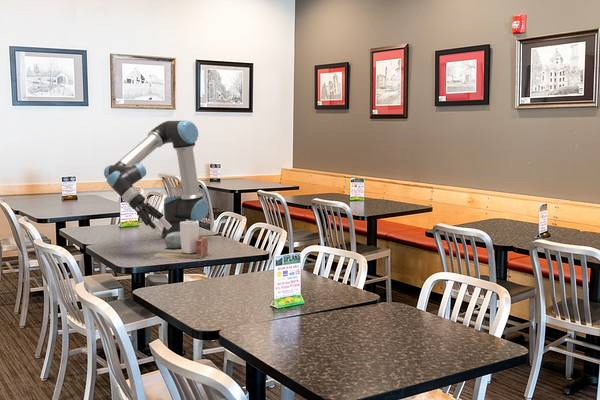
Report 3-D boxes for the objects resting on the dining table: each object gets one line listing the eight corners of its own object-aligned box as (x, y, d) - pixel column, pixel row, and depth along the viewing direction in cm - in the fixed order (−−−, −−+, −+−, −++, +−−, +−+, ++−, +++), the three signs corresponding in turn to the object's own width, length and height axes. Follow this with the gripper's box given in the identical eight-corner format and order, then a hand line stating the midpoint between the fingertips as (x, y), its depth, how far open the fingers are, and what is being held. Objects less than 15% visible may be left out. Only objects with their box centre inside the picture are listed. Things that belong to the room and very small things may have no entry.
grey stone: (190, 238, 339) (187, 223, 333) (195, 249, 332) (192, 234, 326) (164, 246, 335) (161, 231, 329) (169, 257, 328) (166, 242, 322)
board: (163, 252, 317) (163, 235, 316) (207, 253, 314) (207, 236, 313) (155, 257, 305) (154, 239, 304) (200, 258, 302) (200, 241, 301)
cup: (200, 253, 309) (200, 222, 308) (188, 255, 304) (187, 223, 302) (191, 251, 314) (190, 220, 312) (178, 253, 309) (178, 222, 307)
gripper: (138, 200, 323) (168, 231, 322) (118, 207, 298) (150, 240, 298) (148, 190, 321) (178, 221, 321) (129, 195, 297) (161, 229, 297)
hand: (165, 230), depth 310 cm, fingers open, 13 cm apart
